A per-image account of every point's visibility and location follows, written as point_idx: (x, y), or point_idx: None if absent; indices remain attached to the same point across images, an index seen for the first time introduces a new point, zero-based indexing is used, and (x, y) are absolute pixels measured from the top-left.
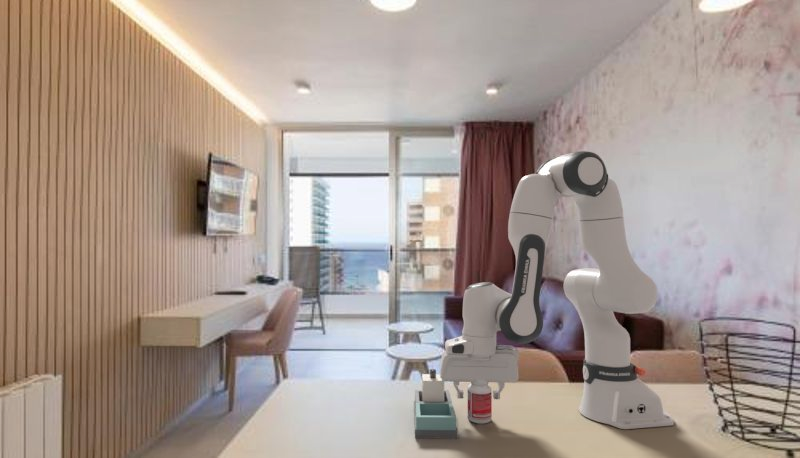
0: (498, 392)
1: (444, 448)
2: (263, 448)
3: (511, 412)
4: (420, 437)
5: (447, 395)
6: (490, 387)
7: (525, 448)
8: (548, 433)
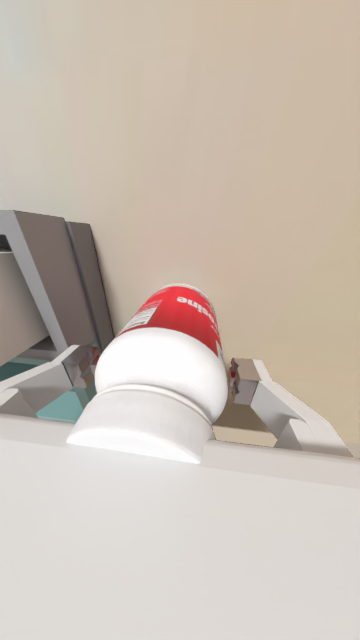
0: (255, 408)
1: None
2: None
3: (314, 261)
4: None
5: (35, 292)
6: (220, 414)
7: (235, 422)
8: (323, 390)
